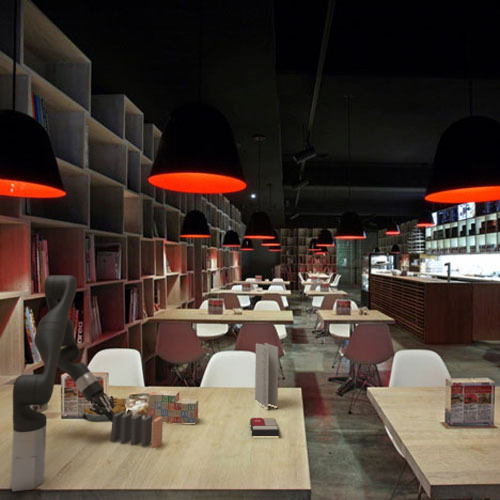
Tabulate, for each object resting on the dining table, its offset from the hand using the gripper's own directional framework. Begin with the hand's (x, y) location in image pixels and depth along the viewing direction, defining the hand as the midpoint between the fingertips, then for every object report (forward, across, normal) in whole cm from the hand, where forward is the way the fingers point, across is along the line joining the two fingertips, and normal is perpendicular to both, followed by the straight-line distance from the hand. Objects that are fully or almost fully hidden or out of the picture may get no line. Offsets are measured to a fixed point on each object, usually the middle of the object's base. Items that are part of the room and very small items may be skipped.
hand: (114, 420), depth 160 cm
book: (+44, +26, -33) cm, 61 cm away
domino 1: (+6, 0, +5) cm, 7 cm away
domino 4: (+15, 0, -5) cm, 16 cm away
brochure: (+39, +58, -28) cm, 76 cm away
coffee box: (-33, +17, +43) cm, 57 cm away
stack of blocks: (+15, +25, -4) cm, 30 cm away
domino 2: (+9, 0, +1) cm, 9 cm away
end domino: (+19, 0, -8) cm, 20 cm away
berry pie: (-9, +24, +20) cm, 32 cm away
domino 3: (+12, 0, -2) cm, 12 cm away
